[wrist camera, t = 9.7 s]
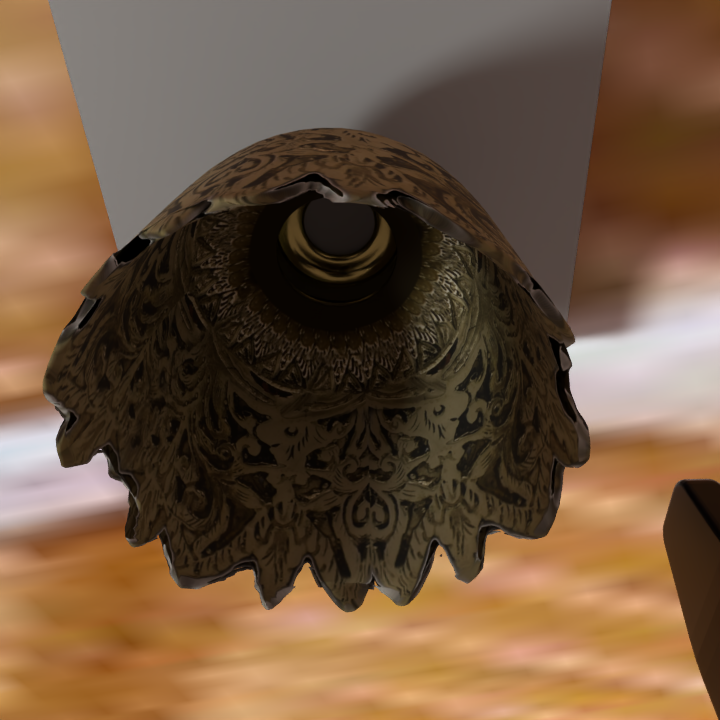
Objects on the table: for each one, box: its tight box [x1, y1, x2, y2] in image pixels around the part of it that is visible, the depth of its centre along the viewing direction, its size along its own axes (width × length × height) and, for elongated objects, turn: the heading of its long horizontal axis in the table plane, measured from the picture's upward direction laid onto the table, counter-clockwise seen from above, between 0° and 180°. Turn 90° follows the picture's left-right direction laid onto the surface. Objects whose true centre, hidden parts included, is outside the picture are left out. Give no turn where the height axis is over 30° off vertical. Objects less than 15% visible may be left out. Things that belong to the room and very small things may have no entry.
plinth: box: [48, 0, 612, 322], centre depth 17 cm, size 11×11×3 cm
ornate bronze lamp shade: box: [43, 128, 590, 612], centre depth 13 cm, size 8×7×8 cm
